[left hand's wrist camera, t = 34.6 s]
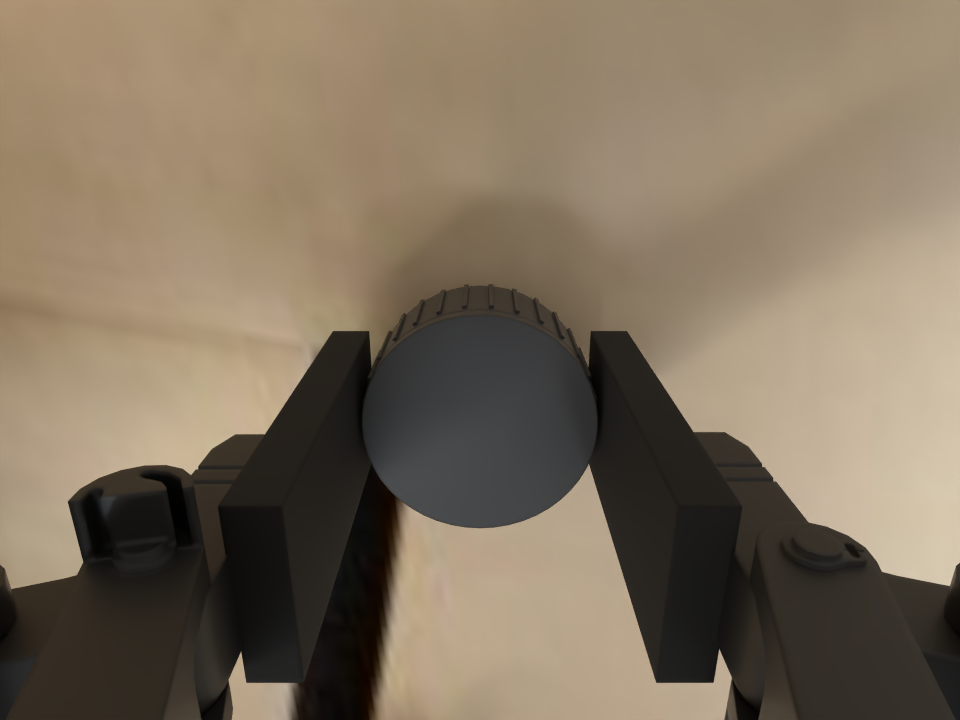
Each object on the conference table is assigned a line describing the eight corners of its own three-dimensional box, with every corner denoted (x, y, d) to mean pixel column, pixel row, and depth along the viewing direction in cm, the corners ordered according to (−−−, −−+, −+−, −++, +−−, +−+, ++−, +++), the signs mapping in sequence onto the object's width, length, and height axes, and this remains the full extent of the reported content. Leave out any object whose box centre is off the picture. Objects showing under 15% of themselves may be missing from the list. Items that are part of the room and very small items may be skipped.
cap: (541, 247, 13) (551, 272, 11) (614, 436, 15) (634, 485, 13) (338, 330, 14) (314, 366, 12) (427, 502, 15) (419, 560, 14)
